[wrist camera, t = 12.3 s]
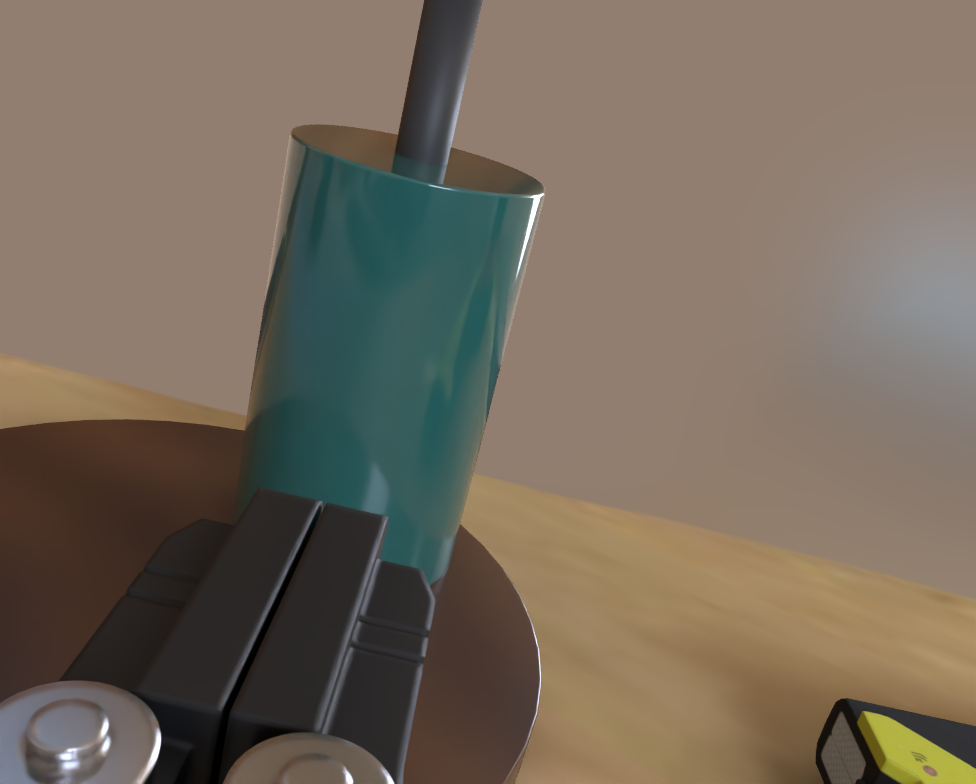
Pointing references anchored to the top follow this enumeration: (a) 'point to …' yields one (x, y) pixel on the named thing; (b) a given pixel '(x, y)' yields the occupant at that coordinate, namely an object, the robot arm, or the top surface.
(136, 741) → the robot arm
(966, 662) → the top surface
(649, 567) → the top surface
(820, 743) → the stun gun
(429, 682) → the teal post stand
